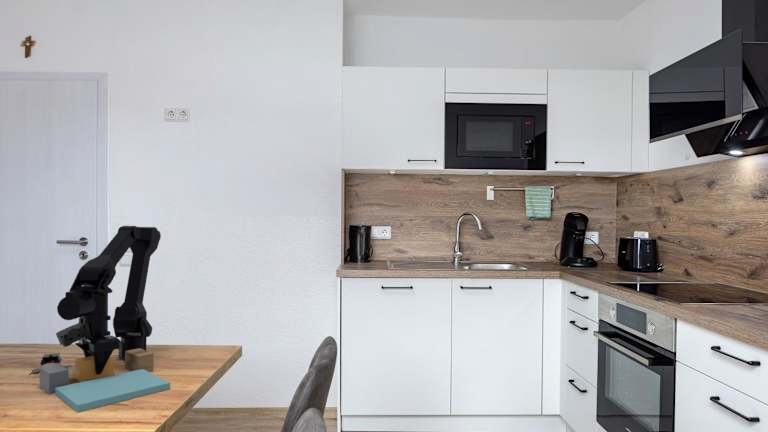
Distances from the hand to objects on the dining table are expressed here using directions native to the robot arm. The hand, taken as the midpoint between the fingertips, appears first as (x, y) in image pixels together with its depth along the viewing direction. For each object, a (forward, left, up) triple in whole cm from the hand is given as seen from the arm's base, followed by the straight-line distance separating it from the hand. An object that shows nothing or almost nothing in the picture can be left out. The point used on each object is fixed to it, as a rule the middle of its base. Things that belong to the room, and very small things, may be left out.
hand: (94, 371), depth 130 cm
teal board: (+1, +16, -1) cm, 16 cm away
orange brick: (0, 0, -1) cm, 1 cm away
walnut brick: (-10, +3, -1) cm, 11 cm away
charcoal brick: (+10, +3, -1) cm, 11 cm away
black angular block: (+6, -14, -2) cm, 16 cm away
